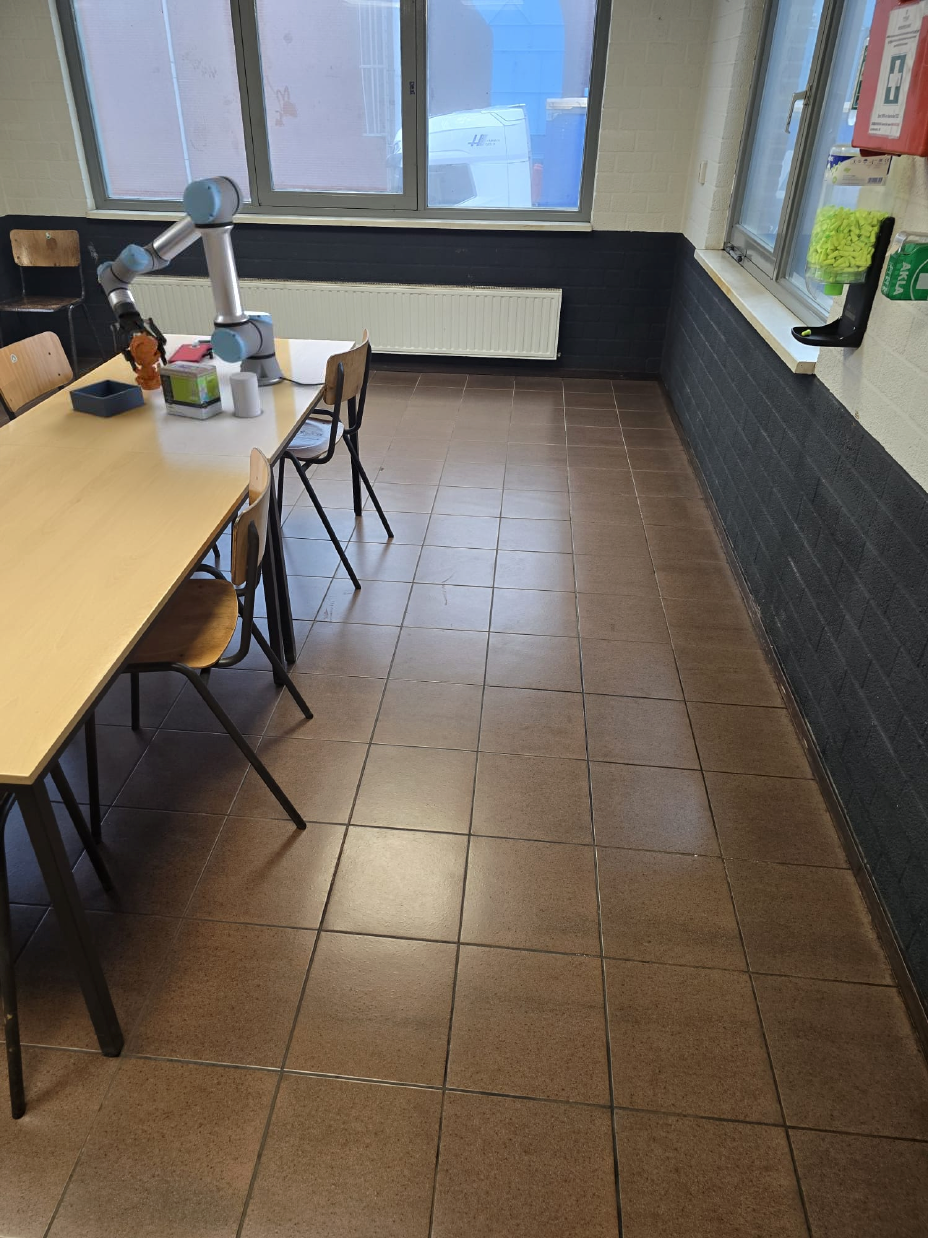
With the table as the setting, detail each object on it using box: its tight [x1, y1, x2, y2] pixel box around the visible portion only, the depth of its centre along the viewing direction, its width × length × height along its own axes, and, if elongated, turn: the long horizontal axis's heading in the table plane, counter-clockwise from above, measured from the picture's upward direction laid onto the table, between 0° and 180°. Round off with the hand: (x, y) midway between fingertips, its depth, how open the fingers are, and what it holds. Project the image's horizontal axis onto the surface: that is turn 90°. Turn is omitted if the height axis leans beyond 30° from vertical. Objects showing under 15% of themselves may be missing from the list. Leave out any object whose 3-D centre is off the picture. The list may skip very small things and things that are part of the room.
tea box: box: [159, 361, 223, 420], centre depth 263 cm, size 15×10×15 cm, turn 65°
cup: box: [229, 371, 262, 418], centre depth 264 cm, size 8×8×12 cm
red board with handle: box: [167, 339, 215, 364], centre depth 326 cm, size 30×3×15 cm
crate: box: [68, 378, 146, 419], centre depth 269 cm, size 15×15×6 cm
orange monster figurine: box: [129, 332, 162, 391], centre depth 278 cm, size 11×11×18 cm
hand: (150, 366), depth 277 cm, fingers closed on orange monster figurine, 9 cm apart
